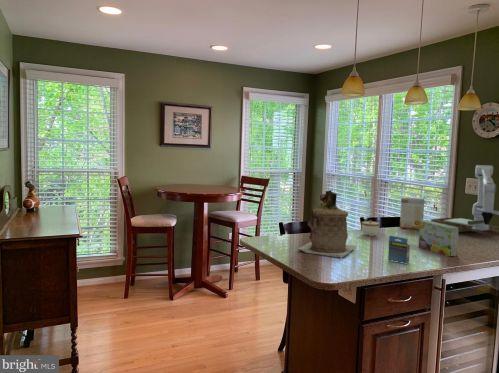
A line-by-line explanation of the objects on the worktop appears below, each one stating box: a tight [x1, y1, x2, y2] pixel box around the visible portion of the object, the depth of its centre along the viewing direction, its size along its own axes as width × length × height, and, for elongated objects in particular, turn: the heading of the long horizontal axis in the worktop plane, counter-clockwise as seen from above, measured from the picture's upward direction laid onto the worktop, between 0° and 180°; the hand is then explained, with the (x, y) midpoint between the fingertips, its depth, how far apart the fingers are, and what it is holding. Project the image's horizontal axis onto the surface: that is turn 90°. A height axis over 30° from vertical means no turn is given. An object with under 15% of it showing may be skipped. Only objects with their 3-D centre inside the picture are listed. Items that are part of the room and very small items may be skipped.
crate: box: [430, 217, 473, 233], centre depth 270 cm, size 18×18×6 cm
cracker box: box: [399, 196, 425, 231], centre depth 269 cm, size 14×6×21 cm, turn 58°
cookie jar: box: [297, 190, 357, 259], centre depth 204 cm, size 25×25×32 cm
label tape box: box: [387, 235, 411, 264], centre depth 186 cm, size 9×4×12 cm, turn 48°
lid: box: [445, 218, 485, 227], centre depth 261 cm, size 18×18×3 cm
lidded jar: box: [360, 219, 380, 237], centre depth 245 cm, size 11×11×9 cm
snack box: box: [418, 219, 459, 257], centre depth 207 cm, size 21×6×15 cm, turn 21°
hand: (486, 224), depth 249 cm, fingers closed
